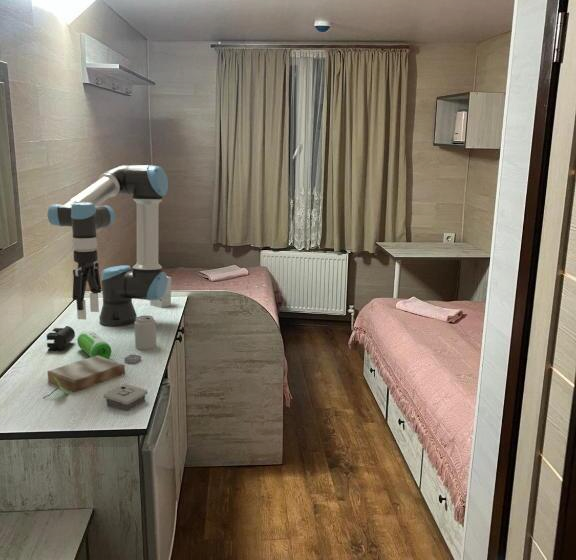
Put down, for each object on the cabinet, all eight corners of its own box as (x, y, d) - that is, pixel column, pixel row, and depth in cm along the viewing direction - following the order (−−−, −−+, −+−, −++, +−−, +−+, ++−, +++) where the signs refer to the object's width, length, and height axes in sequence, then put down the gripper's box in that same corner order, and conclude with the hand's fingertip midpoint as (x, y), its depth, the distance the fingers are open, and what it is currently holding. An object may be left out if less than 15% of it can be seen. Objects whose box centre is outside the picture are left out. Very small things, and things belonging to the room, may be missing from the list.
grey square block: (131, 360, 218) (131, 354, 217) (141, 362, 216) (141, 355, 216) (124, 364, 214) (124, 357, 213) (134, 366, 213) (134, 359, 212)
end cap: (66, 352, 225) (65, 334, 223) (47, 351, 225) (45, 333, 223) (75, 343, 234) (74, 325, 233) (56, 342, 234) (55, 325, 233)
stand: (98, 365, 212) (98, 354, 211) (124, 375, 204) (124, 364, 203) (48, 381, 198) (47, 370, 197) (74, 393, 189) (73, 381, 188)
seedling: (56, 413, 185) (74, 398, 187) (41, 399, 180) (60, 384, 182) (46, 399, 190) (64, 385, 192) (32, 386, 184) (50, 371, 186)
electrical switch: (123, 383, 187) (147, 384, 183) (126, 400, 188) (150, 401, 184) (101, 394, 179) (125, 396, 175) (104, 411, 180) (128, 413, 175)
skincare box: (150, 307, 284) (148, 275, 281) (160, 304, 289) (159, 273, 285) (162, 310, 279) (161, 278, 276) (172, 307, 284) (171, 276, 280)
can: (160, 348, 230) (159, 317, 227) (143, 353, 224) (142, 321, 222) (148, 343, 235) (147, 313, 232) (131, 348, 229) (130, 317, 227)
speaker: (76, 350, 226) (75, 331, 225) (96, 347, 231) (95, 327, 229) (92, 365, 212) (91, 344, 211) (113, 361, 217) (112, 340, 215)
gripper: (89, 244, 217) (92, 306, 222) (58, 254, 196) (62, 323, 201) (109, 245, 216) (112, 307, 221) (80, 255, 195) (84, 324, 200)
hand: (88, 315), depth 211 cm, fingers open, 9 cm apart
